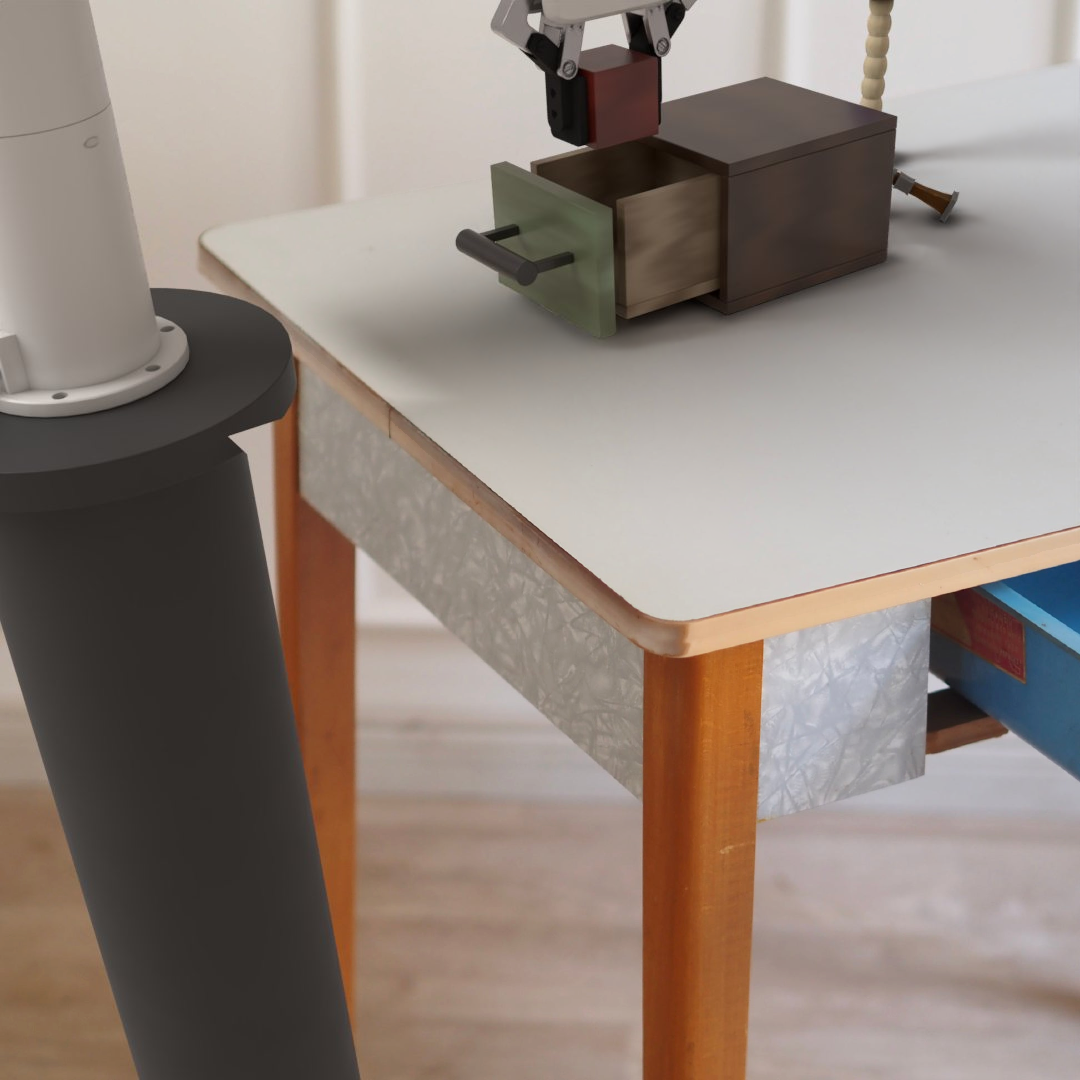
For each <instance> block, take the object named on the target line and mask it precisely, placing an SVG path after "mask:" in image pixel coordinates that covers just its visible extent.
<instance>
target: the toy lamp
mask: <svg viewBox="0 0 1080 1080" xmlns="http://www.w3.org/2000/svg"><path fill="white" fill-rule="evenodd" d="M868 1H869V2H868V8H869V11H870V14H869V16H868V18H867V24H866V27H867V32H868V35H867V37H866V39H865V45H864V46H865V53H866V56H865V58H864V60H863V64H862V71H863V75H864V76H863V78H862V80H861V84H860V92H861V95H862V97H861V99H860V100H859V104H858V105H862V106H865V107H868V108H872V109H875V110H878V111H882V112H883V99H882V97H883V95H884V92H885V90H886V81H885V75H886V72H887V71H888V59H887V54H888V52H889V48H890V36H889V34H890V31H891V29H892V24H893V22H892V16H891V13H892V11H893V8H894V4H895V0H868Z"/></svg>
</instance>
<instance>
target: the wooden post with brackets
mask: <svg viewBox="0 0 1080 1080" xmlns="http://www.w3.org/2000/svg"><path fill="white" fill-rule="evenodd" d="M892 189H896V190H898V191H899V192H901V193H903V194H905V195H906V196H909V195H910V196H913V197H915V198H916V199H918V200H920V201H921V202H923V203H924V204H926V205H927V206H929V207H930V208H932V209H934V210H935V211H936V212H937V213H938V214H940V218H939V220H940V221H942V222H943V223H945V222H946V221H947V219H948V217H949V215H950V214H951V212H952V211H953V209H954V208H955V205H957V202H958V200H959V195H960V191H956V190H953V192H952V193H951V194H950V193H947V192H943V191H940V190H937V189H935V188H931V187H928V186H926V185H924V184H921V183H919V182H917V181H916V178H914V177H911V176H909V175H907V174H906V173H904V172H903V171H900V172H899V169H898V168H895V166H894V169H893V183H892Z"/></svg>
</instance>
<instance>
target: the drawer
mask: <svg viewBox="0 0 1080 1080" xmlns="http://www.w3.org/2000/svg"><path fill="white" fill-rule="evenodd" d="M489 167H490V169H489V170H490V180H491V195H492V207H493V208H492V210H493V221H494V228H493V229H490V230H485V231H483V232H479V233H478V232H477V231H476V230H473V229H471V228H464V229H462V230H460V231H459V232H458V234H457V235H456V237H455V247H456V249H457V251H459V252H460V253H462V254H463V255H465V256H467V257H469V258H470V259H472V260H474V261H476V262H478V263H480V264H481V265H483V266H485V267H487V268H488V269H491V270H492V271H494V272H496V273H497V275H498V276H497V277H498V282H499V284H501V285H503V286H505V287H507V288H508V289H511V290H512V291H513V292H516V293H517V294H519V295H521V296H522V297H524V298H526V299H528V300H530V301H531V302H533V303H535V304H537V305H538V306H540V307H542V308H544V309H546V310H547V311H548V312H549V311H550V312H551V313H553V314H554V315H557V316H558V317H560V318H562V319H564V320H566V321H567V322H569V323H571V324H573V325H575V326H577V327H578V328H579V329H581V330H583V331H585V332H587V333H588V334H590V335H592V336H594V337H595V338H597V339H600V340H601V339H605V338H608V337H611V336H614V335H616V333H617V328H616V327H617V326H616V325H617V324H616V323H617V321H616V315H618V316H619V317H621V318H624V319H626V320H630V319H633V318H636V317H639V316H642V315H645V314H648V313H651V312H654V311H657V310H660V309H663V308H665V307H669V306H672V305H675V304H678V303H681V302H684V301H687V300H690V299H694V298H693V297H696V296H699V295H702V294H705V293H708V292H711V291H714V290H717V289H720V217H721V175H722V174H720V173H717V172H715V171H712V170H709V169H707V168H704V167H702V166H699V165H697V164H694V163H691V162H689V161H686V160H684V159H681V158H678V157H676V156H673V155H671V154H668V153H665V152H663V151H660V150H658V149H655V148H652V147H650V146H647V145H645V144H642V143H639V142H637V141H630V142H627V143H623V144H619V145H616V146H612V147H608V148H605V149H601V150H595V149H593V148H590V147H588V146H585V147H581V148H577V149H574V150H569V151H566V152H562V153H558V154H555V155H551V156H547V157H543V158H540V159H536V160H531V161H530V163H529V167H530V171H529V170H527V169H525V168H522V167H520V166H517V165H515V164H513V163H511V162H509V161H507V160H505V161H500V162H497V163H493V164H490V166H489Z"/></svg>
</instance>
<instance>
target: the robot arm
mask: <svg viewBox="0 0 1080 1080" xmlns="http://www.w3.org/2000/svg"><path fill="white" fill-rule="evenodd" d="M697 1H698V0H500V2H499V4H498V6H497V8H496V10H495V12H494V14H493V16H492V18H491V20H490V21H491V22H490V30H491V32H492V33H493V34H495V35H497V37H500V38H501V39H503V40H505V41H506V42H507V43H509V44H511V45H513V46H515V48H518V50H519V51H520V52H521V53H523V54H524V56H525V57H527V58H528V59H529V60H530V61H531V62H533V63H534V65H535V67H536V69H537V70H539V71H541V72H544V82H545V83H544V84H545V99H546V100H545V102H546V118H547V119H546V120H547V123H548V127H549V128H550V133H551V135H552V137H553V138H555V139H557V140H560V141H563V142H564V143H567V144H570V145H571V146H575V147H577V148H580V147H584V146H585V145H587V144H588V141H589V120H588V95H587V81H586V77H583V76H580V75H578V68H579V61H580V54H581V51H582V46H583V39H584V35H585V26H586V22H590V21H594V20H598V19H600V20H601V19H604V18H609V17H613V16H617V15H620V16H621V20H622V24H623V29H624V33H625V39H626V41H627V45H628V49H630V50H634V51H637V52H640V53H643V54H647V55H650V56H653V57H656V58H657V62H658V125H660V124H661V103H663V68H662V67H663V63H662V58H664V57H666V56H668V54H669V53H670V51H671V48H672V41H671V39H672V38H673V36H674V35H675V33H676V32H677V31H678V28H679V27H680V26H681V25H682V23H683V21H684V19H685V16H686V12H689V11H690V10H691V8H692V7H693V5H695V4H696V2H697ZM91 8H92V7H91V4H90V0H0V412H3V413H6V414H9V415H16V416H22V417H34V418H55V417H69V416H77V415H84V414H90V413H95V412H99V411H104V410H108V409H112V408H115V407H118V406H122V405H125V404H128V403H131V402H133V401H136V400H138V399H141V398H143V397H146V396H148V395H150V394H152V393H153V392H155V391H157V390H159V389H161V388H163V387H164V386H165V385H167V384H168V383H170V382H171V381H172V380H174V379H175V378H176V377H177V376H178V375H179V374H180V373H181V372H182V371H183V369H184V368H185V366H186V364H187V362H188V360H189V353H190V351H189V346H188V342H187V337H186V334H185V333H184V331H183V330H182V329H181V328H180V327H179V326H177V325H176V324H175V323H173V322H171V321H169V320H167V319H164V318H162V317H159V316H155V312H154V307H153V302H152V297H151V292H150V288H151V287H150V283H149V278H148V273H147V269H146V264H145V260H144V254H143V249H142V245H141V240H140V235H139V230H138V225H137V220H136V217H135V216H136V215H135V211H134V206H133V201H132V197H131V191H130V187H129V182H128V178H127V177H128V176H127V173H126V168H125V167H126V166H125V163H124V158H123V153H122V147H121V142H120V139H119V134H118V129H117V125H116V124H117V123H116V119H115V113H114V109H113V105H112V100H111V97H110V93H109V88H108V82H107V79H106V74H105V68H104V63H103V59H102V55H101V50H100V45H99V41H98V36H97V32H96V26H95V21H94V17H93V13H92V9H91ZM533 14H540V17H539V26H538V30H536V29H535V28H534V27H533V26H531V25H530V24H529V22H528V16H529V15H533Z"/></svg>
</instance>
